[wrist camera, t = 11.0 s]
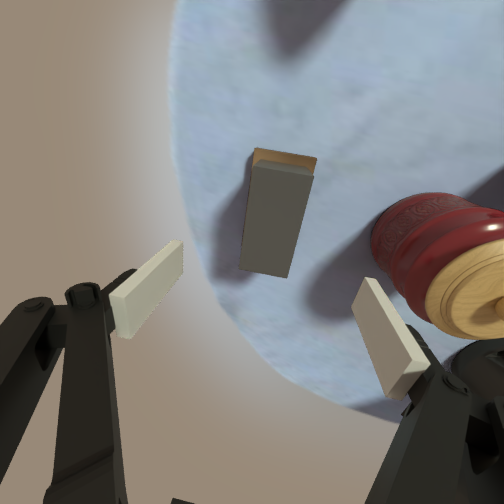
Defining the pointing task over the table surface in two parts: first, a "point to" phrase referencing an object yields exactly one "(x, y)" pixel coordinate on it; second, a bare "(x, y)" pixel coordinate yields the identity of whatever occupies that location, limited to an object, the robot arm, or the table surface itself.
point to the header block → (283, 160)
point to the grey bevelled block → (274, 216)
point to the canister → (446, 262)
